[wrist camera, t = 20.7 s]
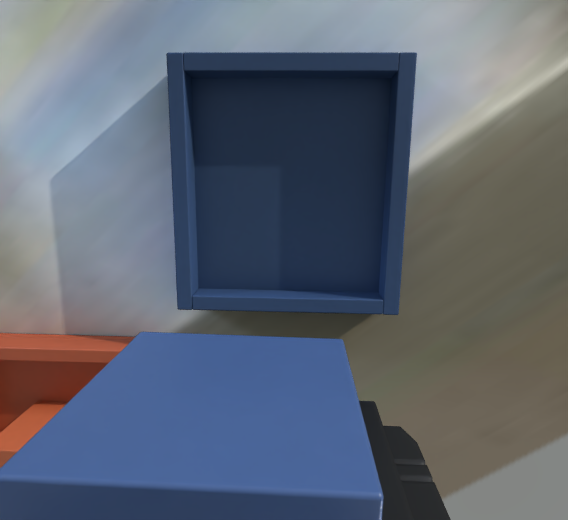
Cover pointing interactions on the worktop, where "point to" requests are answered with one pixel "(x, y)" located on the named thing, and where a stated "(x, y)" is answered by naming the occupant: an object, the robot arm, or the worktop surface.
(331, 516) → the blue block
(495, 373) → the worktop surface
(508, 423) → the worktop surface
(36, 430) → the terracotta block
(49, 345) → the terracotta tray
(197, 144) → the blue tray
